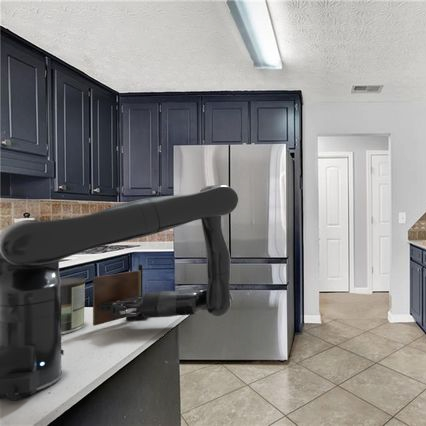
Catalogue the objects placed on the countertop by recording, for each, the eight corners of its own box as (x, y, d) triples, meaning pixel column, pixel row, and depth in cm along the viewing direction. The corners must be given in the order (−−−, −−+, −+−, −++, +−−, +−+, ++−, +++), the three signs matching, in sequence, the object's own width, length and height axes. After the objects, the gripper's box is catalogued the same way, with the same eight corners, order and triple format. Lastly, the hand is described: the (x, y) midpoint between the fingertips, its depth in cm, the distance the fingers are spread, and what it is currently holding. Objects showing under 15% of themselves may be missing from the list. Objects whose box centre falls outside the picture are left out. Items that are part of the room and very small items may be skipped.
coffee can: (49, 339, 81) (49, 287, 81) (32, 331, 86) (32, 282, 86) (92, 326, 91) (92, 279, 90) (75, 320, 95) (75, 275, 95)
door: (94, 325, 87) (94, 277, 87) (92, 325, 88) (92, 277, 87) (141, 313, 98) (141, 270, 97) (139, 312, 98) (139, 270, 98)
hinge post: (146, 319, 97) (146, 266, 96) (125, 320, 95) (126, 266, 95) (152, 314, 101) (152, 263, 101) (132, 315, 100) (133, 263, 100)
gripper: (170, 286, 97) (111, 288, 94) (154, 298, 84) (85, 301, 81) (170, 309, 97) (111, 311, 94) (155, 324, 84) (86, 328, 81)
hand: (99, 306), depth 88 cm, fingers closed
